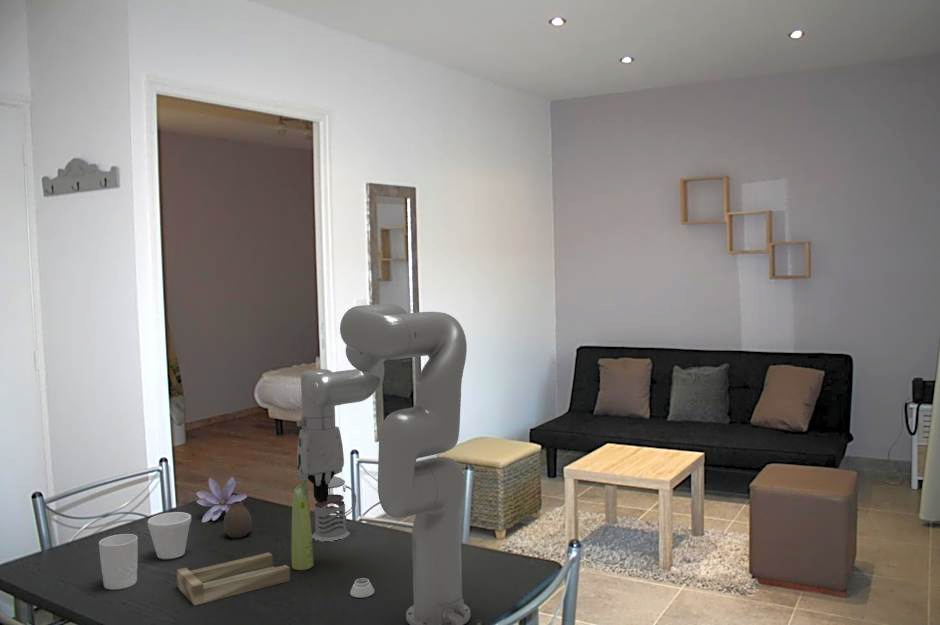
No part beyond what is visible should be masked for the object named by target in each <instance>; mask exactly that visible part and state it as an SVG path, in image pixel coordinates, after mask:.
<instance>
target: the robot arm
mask: <svg viewBox="0 0 940 625" xmlns="http://www.w3.org/2000/svg"><path fill="white" fill-rule="evenodd" d="M339 335H340V338H341V339H342V341H343V342H344V344H345V345H346V346H345V356H346V358H347V361H348V362H349V364H350V365H351V367H354V368H355V369H347V370H339V371H338V370H337V371H332V370H329V369H326V368H325V369H324V368H316V369H314V368H313V369H308V370H305V371H303V372H302V374H301V376H300V384H301V385H300V389H301V390H300V392H301V417H300V418H301V419H299V420H296V426H297V427H299V428H300V427H301V428H302V429H300V430H299V434H298V440H297V451H296V452H297V453H296V462H297V463H296V464H297V470H298V473H297V478H298V479H300V480H304V481H305V480H306V481H309V482H311V484H312V485H313V498H314V499H315V501H316V500H317V501H318V502H320V503H321V502H323V501H324V502H326V501H327V497H328V495H329V489H328V484H329V483H330V480H331V479H332V478H333V476H336V475H338V474H340V473H342V472H343V468H344V465H345V458H344V447H343V441H342V436H341V430H340V427H339V426H336V406H341V405H347V404H354V403H360V402H363V401H366V400H367V399H369V398H370V397H371V396H373V394H375V392H376V391H378V389H379V388H380V386H382V383H383V382H384V379H385V378H384V377H385V364H384V362H385V361H386V360H389V361H390V360H391V361H392V360H403V359H409V358H410V359H411V358H418V357H424V356H427V357H428V360H427V361H426V363H425V364H424V366H423V368H422V369H421V371H420V373H419V376H418V378H417V383H416V397H415V398H416V399H415V404H414V406H412V407H408V408H403V409H397V410H395V411H393V412H391V413H390V414H388V415H387V416H386V417H385V418H384V420H383V421H382V424H381V427H380V429H379V434H378V437H379V438H378V456H377V457H378V461H377V462H378V463H377V494H378V499H379V504H380V507H381V508H382V510H383V511H384V513H385V514H386V515H388V516H389V517H392V518H395V519H402V518H407V517H411V516H415V517H414V521H413V523H412V524H413V526H412V528H411V529H412V531H411V541H412V542H411V543H412V545H411V546H412V547H411V550H412V553H411V555H412V582H413V583H412V586H413V589H412V590H413V591H412V592H413V593H412V594H413V605H411V606H409V608H408V609H407V610H406V612H405V619H406V622H407V624H409V625H465V624H467V623H468V622H469V621H470V618H471V609H470V607H469V606H468V605H467V604H465V601H464V600H465V599H463V582H462V581H463V577H462V570H463V569H462V509H463V502H464V496H465V491H466V479H465V478H466V477H465V472H464V470H463V468H462V466H461V465H460V463H458V462H457V461H456V460H454V459H453V458H451V457H450V458H449V457H446V456H436V457H431V456H434V455H437V454H442V453H445V452H449V451H451V450H452V449H454V448H455V447H456V446H457V443H458V441H459V437H460V436H459V435H460V425H461V424H460V423H461V407H462V406H461V405H462V403H461V402H462V382H463V376H464V375H463V374H464V369H465V365H466V359H467V352H468V351H467V349H468V348H467V338H466V334H465V331H464V329H463V326H462V325H461V323H460V322H459V321H458V320H457V319H456V318H455V317H454V316H452V315H450V314H449V313H445V312H442V311H441V312H440V311H421V312H418V311H417V312H409V313H408V312H407V311H406V310H405V309H404V308H403V307H401V306H399V305H397V304H391V303H379V304H367V305H366V304H365V305H355V306H353V307H350V308H349V309H348V310H347V311H346V312H345V313H344V314H343V316H342V317H341V320H340V325H339ZM425 457H429V458H426V459H422V458H425ZM430 457H431V458H430ZM420 458H421V460H417V459H420ZM320 478H321V480H320ZM317 501H316V502H317Z"/></svg>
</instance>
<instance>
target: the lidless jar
mask: <svg viewBox="0 0 940 625" xmlns="http://www.w3.org/2000/svg"><path fill="white" fill-rule="evenodd" d="M349 594H350V596H351V597H353V598H358V599H365V598H368V597H370V596H372V595H373V594H375V588H374V587H373V585H372V583H371V581H370V579H369V578H365V577H361V578H357V579H355V580H354V583H353V585H352V586H351V589H350V592H349Z"/></svg>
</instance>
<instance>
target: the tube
mask: <svg viewBox="0 0 940 625" xmlns="http://www.w3.org/2000/svg"><path fill="white" fill-rule="evenodd" d="M292 495H293V496H292V509H291V537H290V538H291V541H290V544H291V568H292V569H293V570H294V571H295V570H296V571H306V570H309V569H311V568H313V567H314V553H313V552H314V550H313V548H314V546H313V538H312V535H313V532H312V522H311V521H312V520H311V509H310V508H311V507H310V500H309V499H310V498H309V491H308V486H307V480H304V481H302V482H300V484H298V486H296V487H295V488H294V489H293V494H292Z"/></svg>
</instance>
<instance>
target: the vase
mask: <svg viewBox="0 0 940 625" xmlns="http://www.w3.org/2000/svg"><path fill="white" fill-rule="evenodd" d="M230 505H231V507H230V508H229V510H228V511H227V513H224V514H225V515H224V517H223V518H224V519H223V527H224V528H223V529H224V531H225V533H226V534H227V535H226V536H228V537H229V538H231V539H241V537H242V538H244V537H246V536H247V535H248V534H249V532H250V531H251V528H252V516H251V514H250V512H249V510H248V509H247V507H246V506H244V504H243V502H242V501H236V502H233V503H232V504H230Z"/></svg>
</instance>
